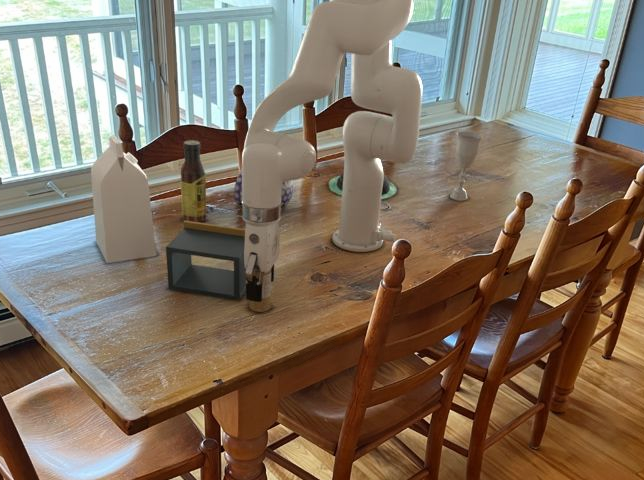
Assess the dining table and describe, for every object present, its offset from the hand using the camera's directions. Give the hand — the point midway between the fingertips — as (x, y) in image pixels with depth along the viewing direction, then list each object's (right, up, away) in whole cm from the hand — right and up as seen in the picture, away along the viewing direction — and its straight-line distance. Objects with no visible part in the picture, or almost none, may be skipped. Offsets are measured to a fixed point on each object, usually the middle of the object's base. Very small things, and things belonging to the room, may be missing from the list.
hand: (260, 290), depth 149 cm
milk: (-33, +12, +23) cm, 42 cm away
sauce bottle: (-19, +22, +39) cm, 49 cm away
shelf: (-11, +2, +10) cm, 15 cm away
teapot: (-2, +27, +48) cm, 55 cm away
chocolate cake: (+26, +36, +64) cm, 78 cm away
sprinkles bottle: (0, -4, +3) cm, 4 cm away
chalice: (+54, +33, +61) cm, 87 cm away
